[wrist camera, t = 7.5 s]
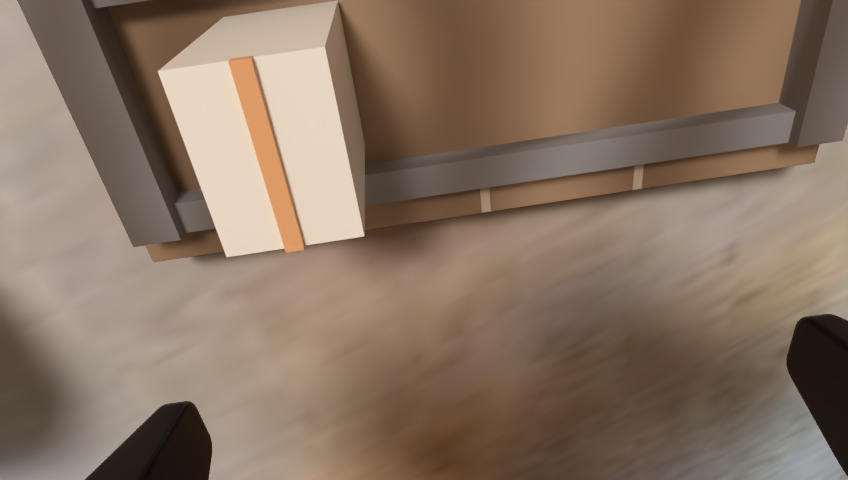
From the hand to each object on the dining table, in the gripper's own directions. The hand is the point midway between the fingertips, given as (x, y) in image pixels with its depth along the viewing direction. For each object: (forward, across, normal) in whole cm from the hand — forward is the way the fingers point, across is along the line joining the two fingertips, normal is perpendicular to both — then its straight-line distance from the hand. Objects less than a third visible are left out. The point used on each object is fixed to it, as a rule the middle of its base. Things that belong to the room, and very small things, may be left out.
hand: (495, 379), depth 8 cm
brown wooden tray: (+12, -1, -2) cm, 12 cm away
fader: (+10, +4, -2) cm, 11 cm away
